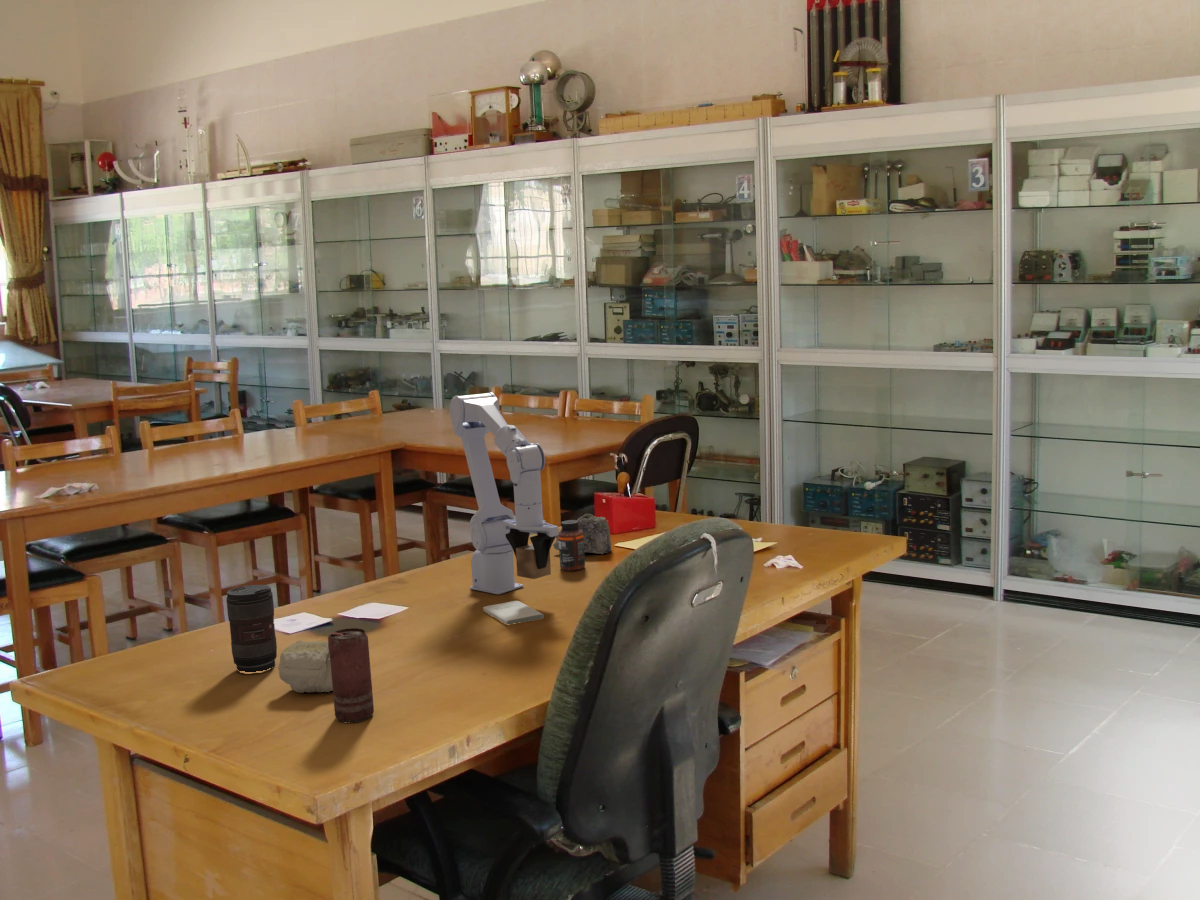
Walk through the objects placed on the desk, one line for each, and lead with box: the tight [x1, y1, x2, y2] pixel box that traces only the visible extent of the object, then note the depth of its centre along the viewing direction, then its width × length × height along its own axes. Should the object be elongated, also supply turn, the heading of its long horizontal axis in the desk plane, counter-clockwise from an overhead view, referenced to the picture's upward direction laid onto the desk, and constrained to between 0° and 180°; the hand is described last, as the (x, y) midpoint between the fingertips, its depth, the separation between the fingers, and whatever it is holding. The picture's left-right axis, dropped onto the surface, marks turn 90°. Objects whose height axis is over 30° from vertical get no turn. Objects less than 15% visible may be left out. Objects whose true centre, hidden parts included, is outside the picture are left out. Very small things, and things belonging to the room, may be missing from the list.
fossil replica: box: [277, 640, 333, 694], centre depth 198 cm, size 12×8×10 cm
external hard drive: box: [482, 600, 545, 626], centre depth 237 cm, size 2×8×12 cm
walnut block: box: [515, 543, 552, 580], centre depth 242 cm, size 5×5×6 cm
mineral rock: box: [552, 513, 612, 555], centre depth 287 cm, size 13×11×10 cm
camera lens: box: [225, 584, 278, 672], centre depth 210 cm, size 8×8×15 cm
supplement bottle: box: [558, 519, 586, 572], centre depth 271 cm, size 6×6×11 cm
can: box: [327, 627, 375, 724], centre depth 184 cm, size 6×6×14 cm
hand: (532, 566), depth 242 cm, fingers closed on walnut block, 5 cm apart
